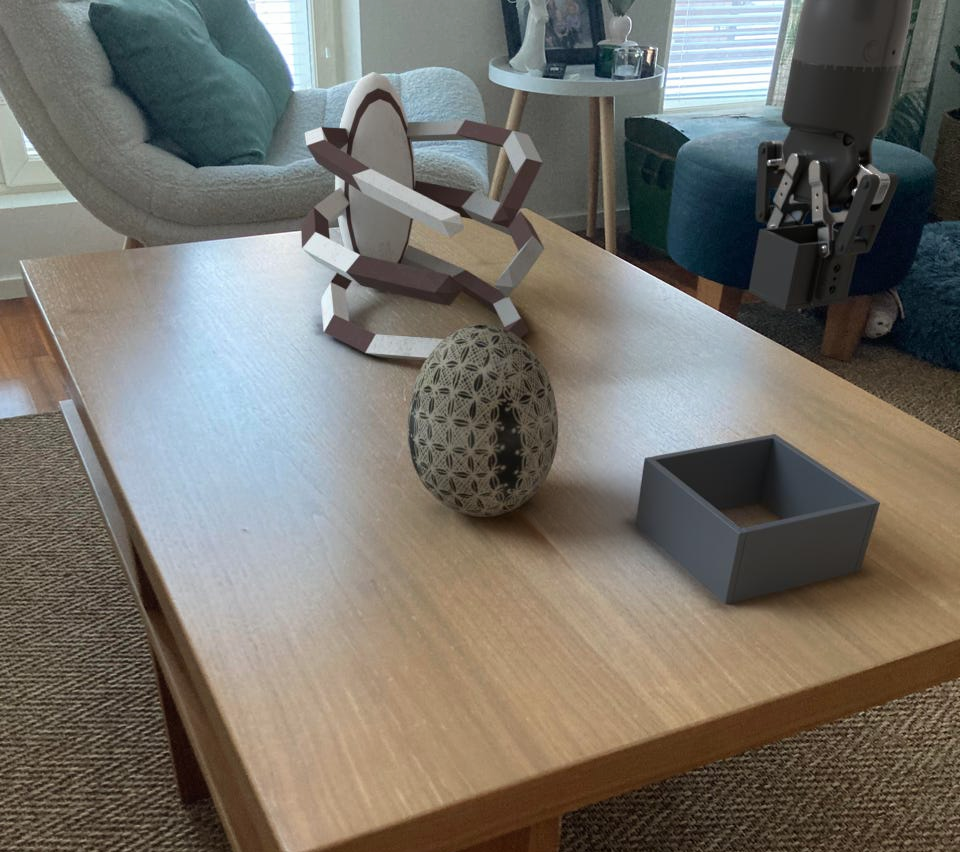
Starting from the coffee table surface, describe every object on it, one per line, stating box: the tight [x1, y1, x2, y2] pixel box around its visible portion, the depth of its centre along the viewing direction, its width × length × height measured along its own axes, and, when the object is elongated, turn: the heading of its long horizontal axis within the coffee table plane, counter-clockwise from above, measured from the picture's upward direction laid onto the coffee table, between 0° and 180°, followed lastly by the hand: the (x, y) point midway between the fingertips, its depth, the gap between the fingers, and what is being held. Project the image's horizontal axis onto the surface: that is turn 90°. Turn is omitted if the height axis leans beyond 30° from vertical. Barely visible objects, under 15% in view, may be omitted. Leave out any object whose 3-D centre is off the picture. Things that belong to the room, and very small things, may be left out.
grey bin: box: [635, 433, 881, 605], centre depth 78 cm, size 12×12×6 cm
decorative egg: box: [406, 323, 559, 518], centre depth 80 cm, size 12×12×15 cm
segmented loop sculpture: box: [300, 71, 546, 362], centre depth 112 cm, size 24×27×35 cm
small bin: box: [748, 223, 858, 312], centre depth 82 cm, size 6×5×5 cm
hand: (797, 292), depth 84 cm, fingers closed on small bin, 5 cm apart
